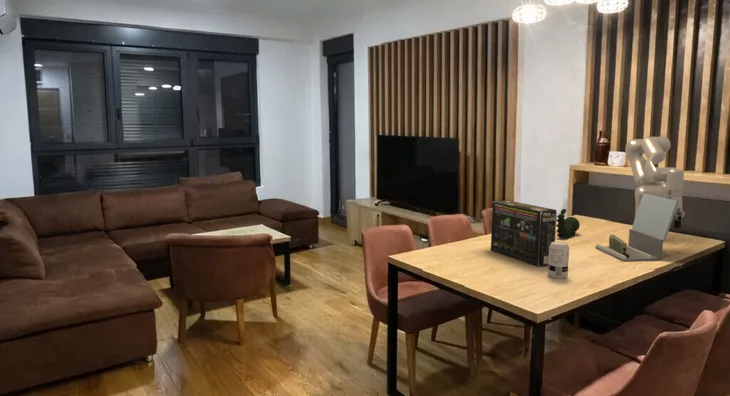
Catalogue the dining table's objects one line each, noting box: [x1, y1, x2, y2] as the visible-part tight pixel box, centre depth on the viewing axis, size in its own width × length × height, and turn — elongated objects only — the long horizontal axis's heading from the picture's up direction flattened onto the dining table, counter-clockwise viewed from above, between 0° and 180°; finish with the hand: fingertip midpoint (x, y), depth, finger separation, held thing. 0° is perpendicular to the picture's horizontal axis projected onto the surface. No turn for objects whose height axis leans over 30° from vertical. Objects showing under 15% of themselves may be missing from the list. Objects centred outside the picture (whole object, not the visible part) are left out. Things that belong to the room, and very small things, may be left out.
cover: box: [631, 193, 679, 241], centre depth 261 cm, size 20×26×1 cm
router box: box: [490, 200, 558, 267], centre depth 257 cm, size 36×11×27 cm, turn 26°
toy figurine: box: [555, 208, 581, 239], centre depth 302 cm, size 9×19×25 cm
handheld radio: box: [608, 234, 629, 257], centre depth 262 cm, size 7×3×25 cm
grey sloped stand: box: [594, 228, 664, 263], centre depth 262 cm, size 20×26×10 cm
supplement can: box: [547, 241, 570, 280], centre depth 225 cm, size 8×8×15 cm
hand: (670, 226), depth 263 cm, fingers open, 9 cm apart
